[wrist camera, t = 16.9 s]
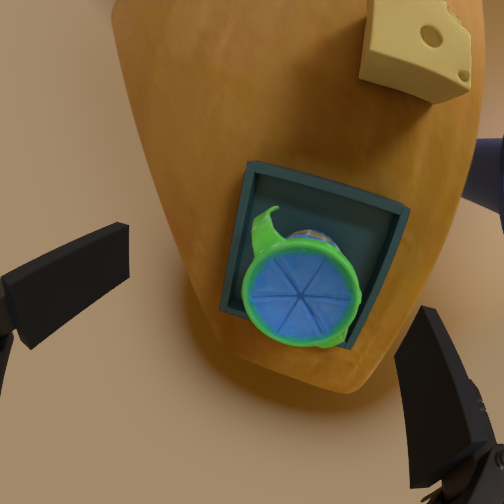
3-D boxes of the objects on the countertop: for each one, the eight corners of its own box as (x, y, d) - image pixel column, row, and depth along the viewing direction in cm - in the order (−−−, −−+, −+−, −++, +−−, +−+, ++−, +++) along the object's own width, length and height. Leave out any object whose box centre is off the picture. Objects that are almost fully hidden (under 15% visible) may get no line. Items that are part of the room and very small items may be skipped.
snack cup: (240, 218, 33) (205, 244, 24) (321, 179, 29) (318, 190, 20) (296, 323, 36) (283, 375, 27) (371, 296, 32) (381, 347, 23)
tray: (402, 203, 28) (411, 209, 25) (350, 334, 36) (350, 350, 33) (255, 160, 31) (247, 161, 28) (227, 297, 39) (218, 310, 36)
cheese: (441, 38, 19) (472, 8, 10) (435, 111, 23) (474, 98, 14) (362, 11, 21) (370, -32, 12) (352, 82, 25) (362, 53, 16)
